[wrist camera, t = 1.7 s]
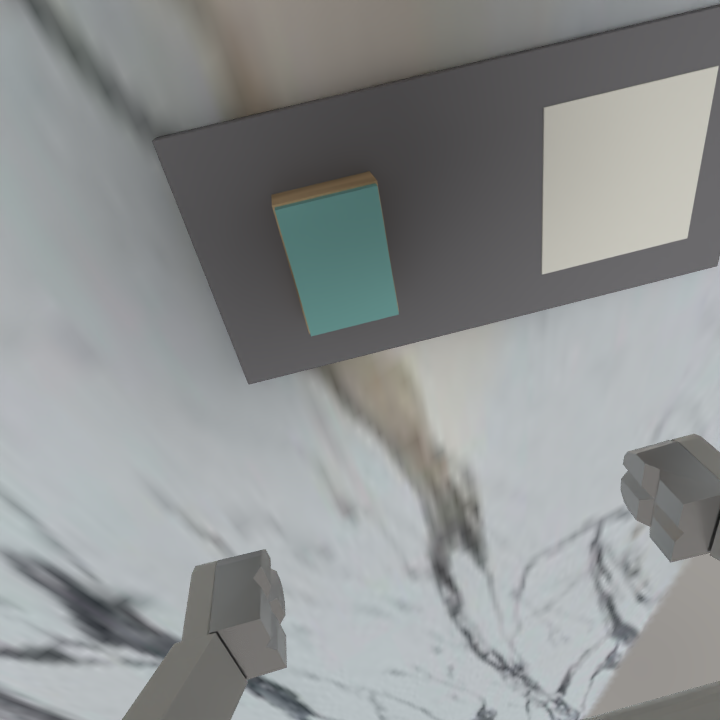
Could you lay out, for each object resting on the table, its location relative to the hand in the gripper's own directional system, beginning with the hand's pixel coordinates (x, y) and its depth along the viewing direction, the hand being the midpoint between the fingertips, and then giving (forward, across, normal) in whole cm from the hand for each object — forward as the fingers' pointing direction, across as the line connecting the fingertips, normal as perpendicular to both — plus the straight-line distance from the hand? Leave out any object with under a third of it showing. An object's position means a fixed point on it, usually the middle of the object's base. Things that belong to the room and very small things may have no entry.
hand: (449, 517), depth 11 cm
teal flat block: (+18, 0, 0) cm, 19 cm away
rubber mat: (+20, -8, 0) cm, 21 cm away
